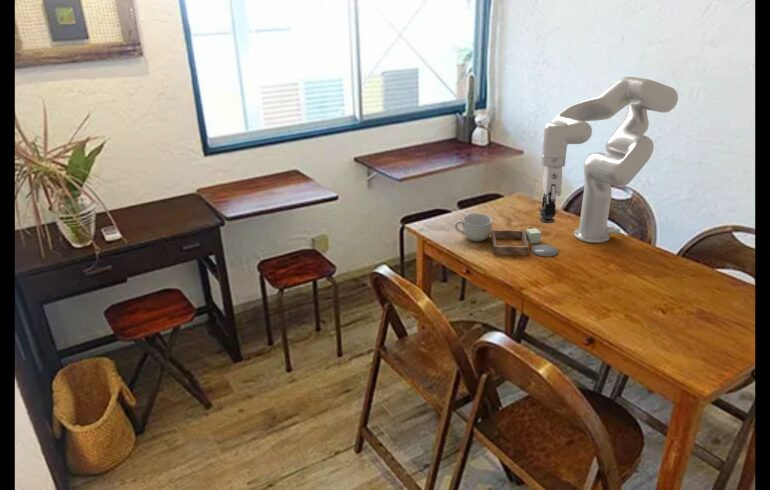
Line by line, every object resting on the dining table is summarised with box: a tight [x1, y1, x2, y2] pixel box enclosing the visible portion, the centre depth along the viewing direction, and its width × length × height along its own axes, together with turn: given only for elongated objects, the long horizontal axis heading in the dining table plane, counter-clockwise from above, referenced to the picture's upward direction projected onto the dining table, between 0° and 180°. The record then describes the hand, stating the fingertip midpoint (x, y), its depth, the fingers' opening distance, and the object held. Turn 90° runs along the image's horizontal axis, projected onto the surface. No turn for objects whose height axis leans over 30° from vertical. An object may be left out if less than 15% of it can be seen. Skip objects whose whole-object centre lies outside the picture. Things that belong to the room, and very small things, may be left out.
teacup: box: [454, 212, 493, 242], centre depth 213 cm, size 14×11×8 cm
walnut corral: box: [490, 229, 530, 256], centre depth 207 cm, size 12×15×3 cm
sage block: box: [525, 228, 542, 244], centre depth 211 cm, size 4×4×4 cm
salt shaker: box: [538, 193, 558, 224], centre depth 195 cm, size 6×6×12 cm
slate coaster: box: [530, 243, 559, 258], centre depth 203 cm, size 9×9×1 cm
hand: (548, 210), depth 196 cm, fingers closed on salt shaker, 5 cm apart
